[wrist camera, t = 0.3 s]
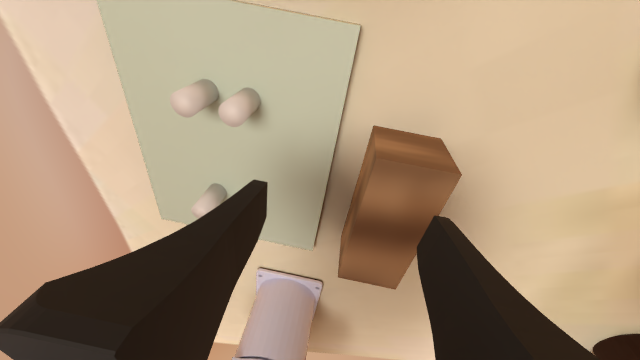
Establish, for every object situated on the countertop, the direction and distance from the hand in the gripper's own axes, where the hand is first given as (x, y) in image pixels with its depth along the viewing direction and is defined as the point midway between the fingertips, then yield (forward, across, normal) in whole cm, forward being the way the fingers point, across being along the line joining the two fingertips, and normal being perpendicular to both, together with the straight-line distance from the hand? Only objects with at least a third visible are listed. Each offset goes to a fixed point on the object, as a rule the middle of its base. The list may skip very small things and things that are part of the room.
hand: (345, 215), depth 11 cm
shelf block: (+10, -4, +6) cm, 12 cm away
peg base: (+10, +9, +3) cm, 14 cm away
